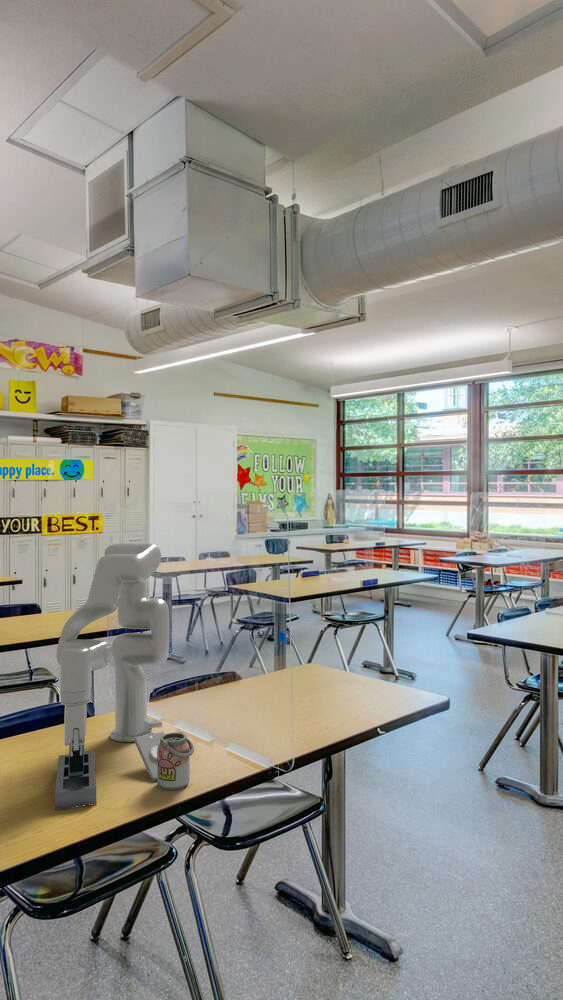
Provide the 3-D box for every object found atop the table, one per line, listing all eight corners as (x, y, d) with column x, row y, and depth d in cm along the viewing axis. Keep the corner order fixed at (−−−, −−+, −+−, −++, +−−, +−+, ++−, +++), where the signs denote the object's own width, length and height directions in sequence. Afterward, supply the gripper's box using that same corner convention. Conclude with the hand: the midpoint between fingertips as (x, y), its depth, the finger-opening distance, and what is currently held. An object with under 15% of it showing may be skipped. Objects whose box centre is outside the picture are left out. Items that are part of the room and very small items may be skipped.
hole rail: (94, 765, 171) (94, 751, 172) (96, 804, 149) (96, 787, 149) (58, 770, 169) (58, 755, 169) (55, 810, 146) (55, 793, 146)
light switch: (154, 776, 160) (135, 735, 171) (149, 793, 162) (131, 751, 173) (184, 768, 165) (164, 728, 176) (179, 784, 167) (160, 744, 178)
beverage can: (199, 780, 161) (199, 734, 161) (182, 794, 153) (181, 745, 154) (169, 775, 165) (169, 729, 165) (150, 788, 157) (150, 740, 157)
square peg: (82, 775, 161) (84, 740, 161) (83, 781, 157) (84, 744, 158) (68, 776, 160) (69, 741, 160) (67, 782, 156) (69, 746, 157)
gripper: (61, 688, 166) (61, 758, 166) (59, 706, 150) (59, 783, 150) (91, 685, 168) (91, 754, 168) (92, 703, 152) (92, 779, 152)
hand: (76, 767), depth 159 cm, fingers closed on square peg, 3 cm apart
